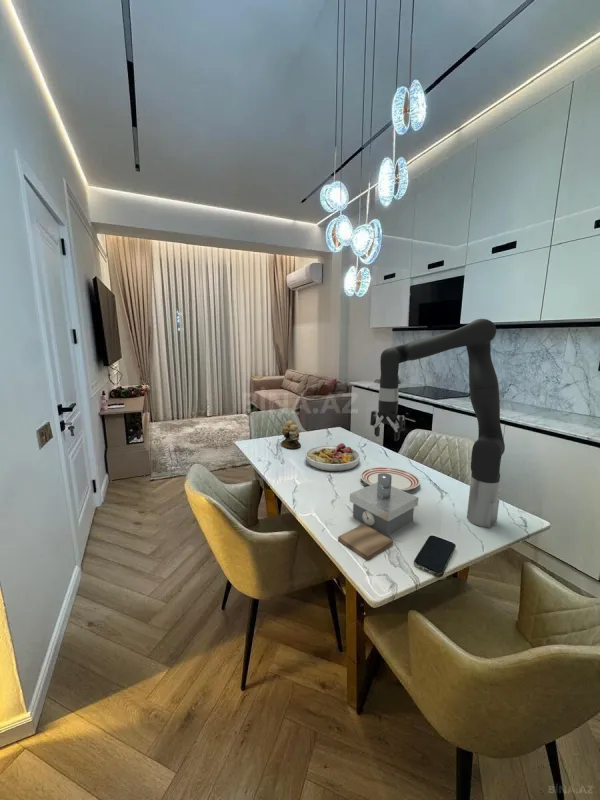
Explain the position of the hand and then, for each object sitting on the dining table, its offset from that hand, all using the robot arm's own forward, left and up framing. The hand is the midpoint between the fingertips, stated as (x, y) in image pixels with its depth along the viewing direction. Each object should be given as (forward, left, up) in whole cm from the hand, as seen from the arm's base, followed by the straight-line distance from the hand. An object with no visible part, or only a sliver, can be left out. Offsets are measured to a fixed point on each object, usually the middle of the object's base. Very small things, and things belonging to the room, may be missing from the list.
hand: (386, 438), depth 134 cm
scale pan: (-7, +10, -22) cm, 25 cm away
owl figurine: (+84, -14, -29) cm, 89 cm away
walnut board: (-13, +27, -28) cm, 41 cm away
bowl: (+47, -15, -29) cm, 57 cm away
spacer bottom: (-7, +10, -19) cm, 23 cm away
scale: (-7, +10, -28) cm, 31 cm away
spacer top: (-7, +10, -15) cm, 19 cm away
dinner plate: (+11, -18, -29) cm, 36 cm away
